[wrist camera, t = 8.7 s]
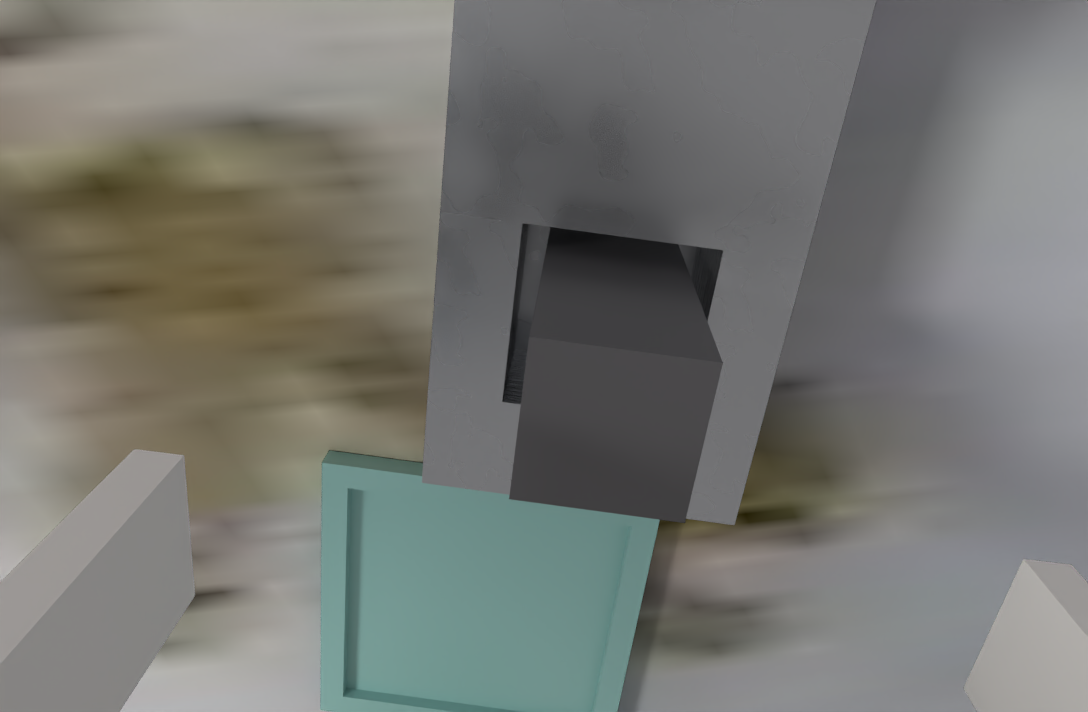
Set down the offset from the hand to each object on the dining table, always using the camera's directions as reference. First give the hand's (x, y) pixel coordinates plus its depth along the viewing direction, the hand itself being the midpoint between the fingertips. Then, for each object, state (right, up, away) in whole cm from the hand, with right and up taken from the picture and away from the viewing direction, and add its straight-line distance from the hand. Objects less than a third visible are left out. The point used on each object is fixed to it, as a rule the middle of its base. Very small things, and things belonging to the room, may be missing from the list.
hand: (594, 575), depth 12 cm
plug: (+1, +6, +13) cm, 15 cm away
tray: (-4, -7, +20) cm, 22 cm away
